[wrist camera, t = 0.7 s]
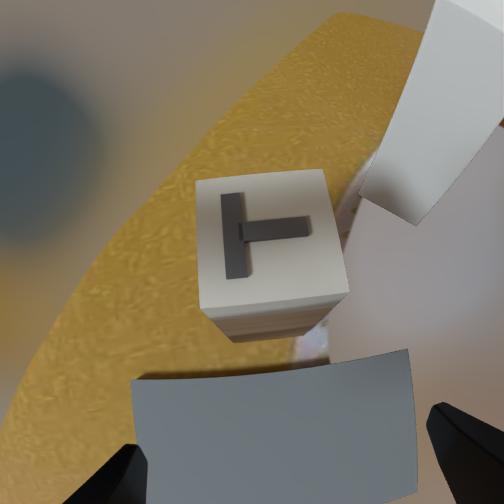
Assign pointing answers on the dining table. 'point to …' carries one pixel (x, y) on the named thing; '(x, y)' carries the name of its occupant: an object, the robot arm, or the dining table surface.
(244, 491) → the mat
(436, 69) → the milk
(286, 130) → the dining table surface
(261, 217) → the marked block
